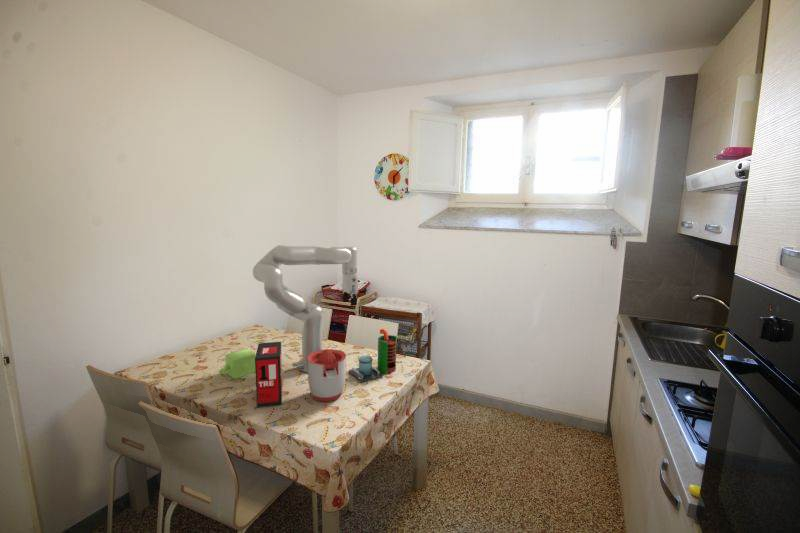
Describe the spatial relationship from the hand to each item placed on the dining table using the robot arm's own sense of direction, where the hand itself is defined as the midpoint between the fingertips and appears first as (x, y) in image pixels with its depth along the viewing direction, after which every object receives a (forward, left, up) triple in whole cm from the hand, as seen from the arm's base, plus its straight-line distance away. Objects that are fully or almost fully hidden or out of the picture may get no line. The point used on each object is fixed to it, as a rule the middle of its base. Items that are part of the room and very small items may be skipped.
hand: (349, 303), depth 187 cm
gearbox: (-53, +5, -29) cm, 60 cm away
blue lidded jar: (-4, -25, -27) cm, 37 cm away
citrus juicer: (-26, -35, -29) cm, 52 cm away
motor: (+8, -25, -29) cm, 39 cm away
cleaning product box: (-46, -23, -29) cm, 59 cm away
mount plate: (-4, -25, -28) cm, 38 cm away
